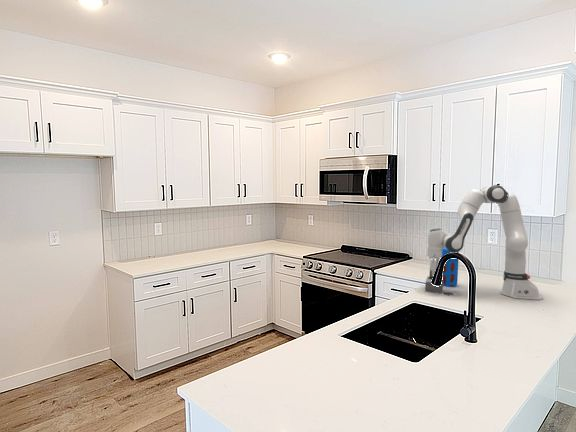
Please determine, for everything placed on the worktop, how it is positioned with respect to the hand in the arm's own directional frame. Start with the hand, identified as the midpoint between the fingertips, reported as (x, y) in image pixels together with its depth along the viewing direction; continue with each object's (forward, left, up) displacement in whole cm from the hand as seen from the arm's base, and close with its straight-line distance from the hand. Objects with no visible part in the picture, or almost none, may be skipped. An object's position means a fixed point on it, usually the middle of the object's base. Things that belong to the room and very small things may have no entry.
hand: (433, 275), depth 253 cm
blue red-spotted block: (-9, -20, -10) cm, 24 cm away
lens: (0, 0, -3) cm, 3 cm away
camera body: (-1, 0, -10) cm, 10 cm away
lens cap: (-10, +5, -11) cm, 15 cm away
